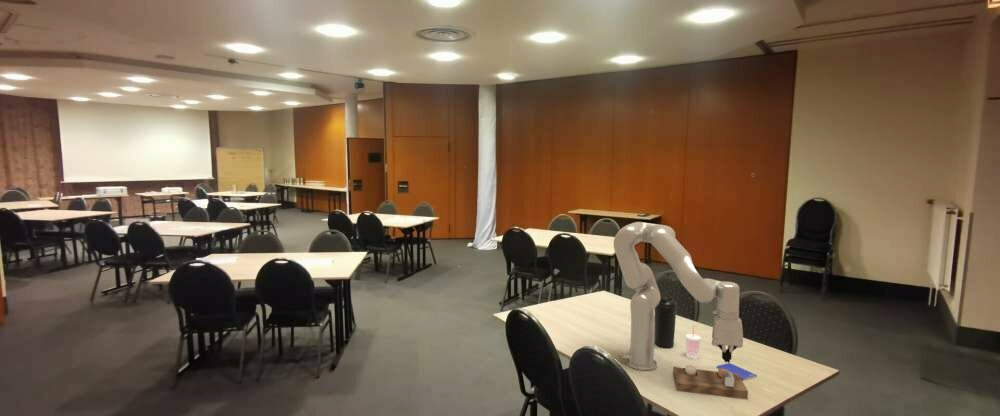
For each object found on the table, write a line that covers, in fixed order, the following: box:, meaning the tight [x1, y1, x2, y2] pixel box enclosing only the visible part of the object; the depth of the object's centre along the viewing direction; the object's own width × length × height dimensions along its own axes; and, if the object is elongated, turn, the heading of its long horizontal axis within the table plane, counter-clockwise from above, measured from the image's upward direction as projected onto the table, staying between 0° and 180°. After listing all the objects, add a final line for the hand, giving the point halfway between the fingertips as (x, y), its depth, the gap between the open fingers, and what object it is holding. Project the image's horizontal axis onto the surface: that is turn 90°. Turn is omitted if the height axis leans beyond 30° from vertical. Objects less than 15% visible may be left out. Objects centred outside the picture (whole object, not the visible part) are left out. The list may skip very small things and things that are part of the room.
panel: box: [672, 366, 749, 400], centre depth 176 cm, size 24×14×3 cm, turn 75°
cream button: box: [684, 364, 697, 375], centre depth 181 cm, size 4×4×3 cm
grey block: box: [722, 371, 734, 387], centre depth 171 cm, size 3×5×4 cm, turn 165°
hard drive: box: [716, 362, 758, 382], centre depth 187 cm, size 2×8×12 cm
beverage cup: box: [685, 325, 702, 359], centre depth 202 cm, size 6×6×14 cm
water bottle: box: [654, 294, 678, 349], centre depth 214 cm, size 10×10×23 cm
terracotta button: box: [717, 369, 730, 378], centre depth 178 cm, size 4×4×3 cm
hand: (726, 360), depth 177 cm, fingers closed
